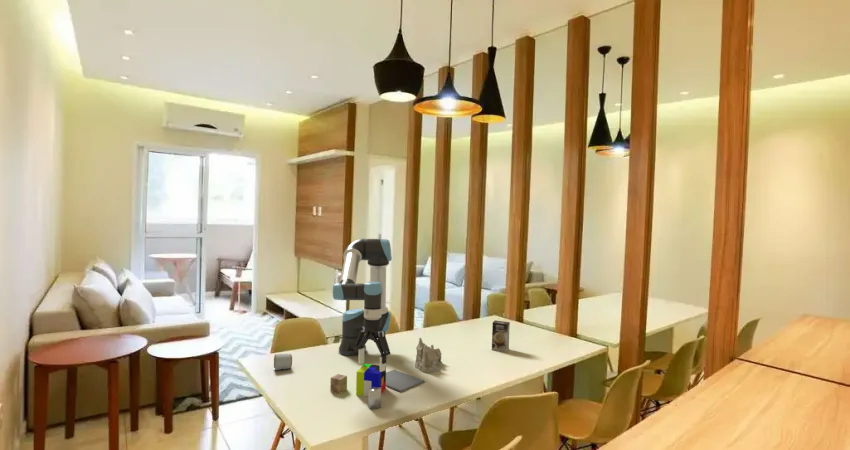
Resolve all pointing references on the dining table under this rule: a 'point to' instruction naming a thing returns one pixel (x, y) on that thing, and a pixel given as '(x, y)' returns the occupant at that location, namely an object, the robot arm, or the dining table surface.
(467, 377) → the dining table surface
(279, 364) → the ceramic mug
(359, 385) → the puzzle toy
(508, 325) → the coffee box
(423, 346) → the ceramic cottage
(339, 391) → the walnut block
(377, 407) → the grey metal cylinder
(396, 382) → the charcoal mat
